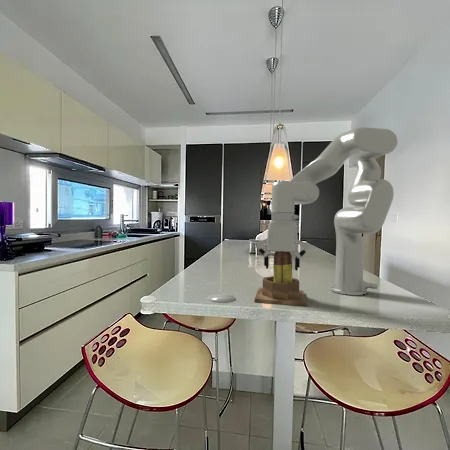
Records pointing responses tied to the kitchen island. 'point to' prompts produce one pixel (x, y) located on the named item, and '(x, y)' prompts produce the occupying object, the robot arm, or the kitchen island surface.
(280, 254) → the sauce bottle
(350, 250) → the robot arm
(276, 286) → the holder
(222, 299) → the coaster
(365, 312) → the kitchen island surface
